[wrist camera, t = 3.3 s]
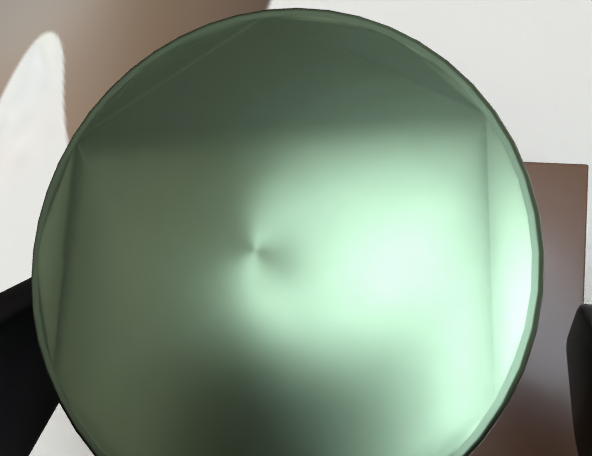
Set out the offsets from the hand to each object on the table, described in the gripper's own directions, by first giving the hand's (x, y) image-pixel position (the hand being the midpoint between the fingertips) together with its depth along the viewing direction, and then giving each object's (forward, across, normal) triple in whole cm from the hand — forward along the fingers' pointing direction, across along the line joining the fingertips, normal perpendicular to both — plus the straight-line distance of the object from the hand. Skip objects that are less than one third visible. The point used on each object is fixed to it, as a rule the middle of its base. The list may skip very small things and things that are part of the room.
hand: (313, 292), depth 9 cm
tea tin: (+4, 0, +3) cm, 5 cm away
